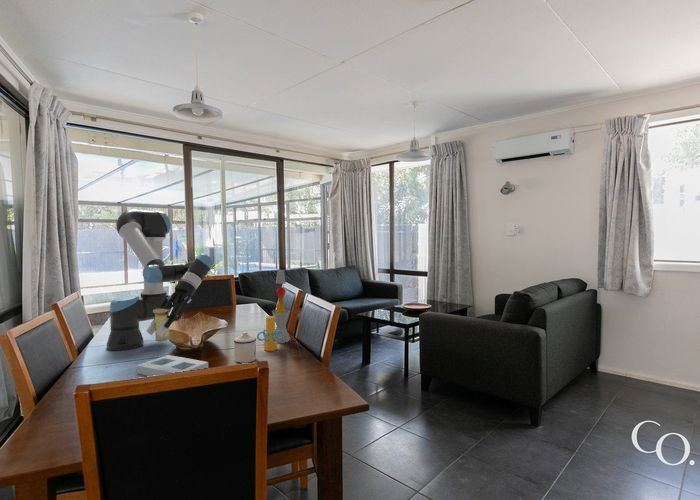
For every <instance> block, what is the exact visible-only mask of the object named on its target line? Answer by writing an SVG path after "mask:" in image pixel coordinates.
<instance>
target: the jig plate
mask: <svg viewBox="0 0 700 500" xmlns="http://www.w3.org/2000/svg"><path fill="white" fill-rule="evenodd" d="M204 368H208V369H209V362H208V361H204V360H197V359H193V358H189V357H188V358H186V357H182V356H177V355H176V356H175V355H170V354H167V355H164V356H161V357H158V358H155V359H152V360H149V361H146V362H143V363H139V364H136V374H139V375H144V376H149V377H151V376H150V375H160V374H168V373H175V372H183V371H190V370H197V369H204Z"/></svg>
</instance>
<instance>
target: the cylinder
mask: <svg viewBox="0 0 700 500" xmlns="http://www.w3.org/2000/svg"><path fill="white" fill-rule="evenodd" d="M277 332H282V336H281V337H279V336H278V333H277ZM260 334H262V336H263V338H260ZM276 335H277V336H276ZM283 336H284V332H283V331H282V330H277V331H276V322H275V316H273V315H268V316H266V317H265V329H263V331H259V332H257V335H256V340H259V342H263V350H264V351H267V352H274V351H276V350H277V349H278V343H277V341H278V339H281V338H283ZM276 338H277V339H276Z"/></svg>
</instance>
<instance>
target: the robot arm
mask: <svg viewBox="0 0 700 500" xmlns="http://www.w3.org/2000/svg"><path fill="white" fill-rule="evenodd" d="M115 226H116V227H115V228H116V231H117V234H118V235H119V236H120V238H122V239H123V240H125V241H126V242H127V244H128V246H129V248H130V249H131V250H132V252H133V253H134V255H135V256H136V257H137V259H138V261H139V262H140V264H141V265H142V266H143V269H142V278H143V290H142V291H141V292H140V297H139V295H137V294H130V295H123V296H119V297H116V298H114V299H112V300H111V301H110V304H109V306H110V307H109V317H110V319H109V320H110V333H109V335H108V339H107V341H106V350H108V351H126V350H133V349H136V348H139V347H141V346H144V343H145V341H144V337H143V334H142V332H141V329H140V322H145V321H150V320H152V322H151V323H150V325H149V326H148V327H147V329H146V330H145V332H146V333H147V334H149V335H151V336H152V335H153V334H154V333H155V313H153V310H154V309H157V308H171V312H169V316H167V317H168V318H169V319H168V318H166V319H165V320H164V322H163V323H162V325H161V326H160V328H159V329H158V330H157V332H156V333H157V334H158V335H159V336H161V337H162V336H163V334H164V333H165V331H166V330H167V328H169V329H170V327H171V325H172V324H173V322H175V321H177V322H178V321H179V320H180V319H181V317H182V316H183V314H184V313H185V311H186V310H187V308H188V307H189V305H190V304H192V303H193V299H191V298H192V297H193V295H195V293H196V290H197V289H198V288H199V286H200V285H201V283H202V282H203V280H204V279H205V278H206V276H207V275H208V273H209V272H210V270H212V267H213V265H214V260H213V258H212V257H211V256H209V255H208V254H205V253H200V254H198V255H197V256H196V257H195V259H194V260H192V261H189V262H183V263H165V262H164V259H163V258H164V257H163V256H164V254H163V248H164V247H163V241H164V240H165V239H166V237H167V234H169V233H170V230H171V220H170V217H169V216H168V215H167V213H166V212H165V211H163V210H162V211H161V210H148V209H147V210H146V209H129V210H126V211H124V212H122V213H121V214H120V215H119V216H118V217H117V220H116V223H115ZM168 282H169V283H170V282H178V283H177V284H176V285H175V287H174V291H173V293H172V294H171V295H170V294H169V293H167V290H166V289H165V288H164V283H168ZM156 333H155V334H156Z"/></svg>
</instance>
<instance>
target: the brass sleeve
mask: <svg viewBox="0 0 700 500" xmlns="http://www.w3.org/2000/svg"><path fill="white" fill-rule="evenodd" d="M171 311H172V308H157V309H154V310H153V313H155V331H154V333H155V342H160V343H161V342H167V341H169V340H170V327H169V328H167V330H166V331H165V333H164V334H163V336H162V337H161V336H159V335H158V334H157V333H156V332H157V330H158V329H159V328H160V326H161V325H162V323H163V322H164V320H165V319H166V318H168V317H167V316H169V315H170V313H171ZM169 312H170V313H169ZM168 319H169V318H168Z"/></svg>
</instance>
